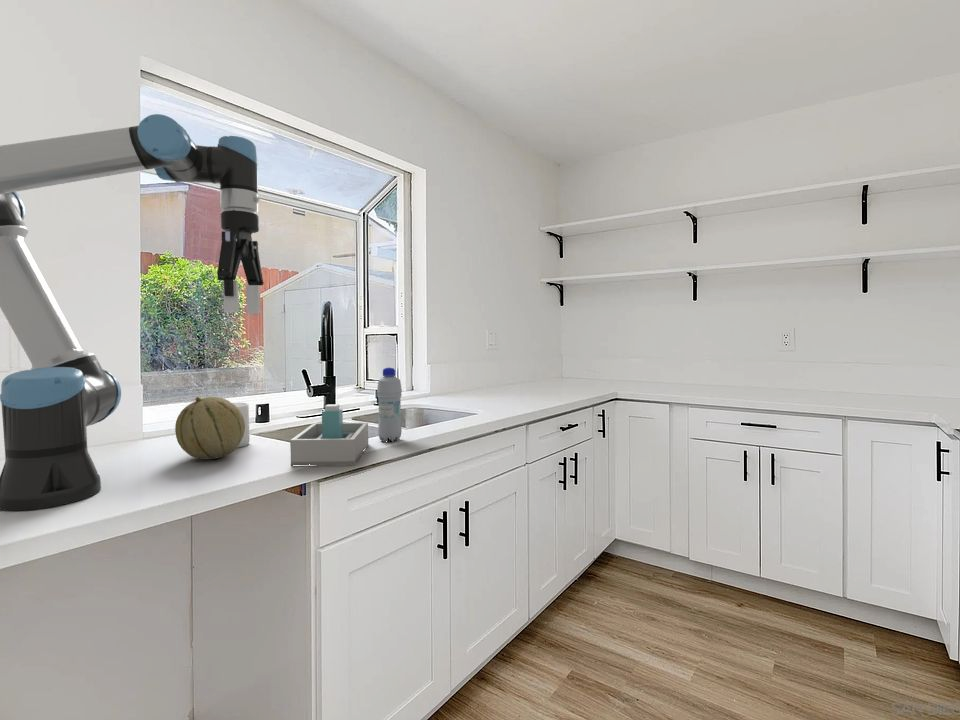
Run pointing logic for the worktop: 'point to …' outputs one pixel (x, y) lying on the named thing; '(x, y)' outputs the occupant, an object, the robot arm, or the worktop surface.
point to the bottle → (389, 406)
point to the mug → (245, 412)
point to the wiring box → (329, 446)
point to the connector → (332, 422)
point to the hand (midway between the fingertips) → (243, 313)
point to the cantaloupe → (209, 428)
